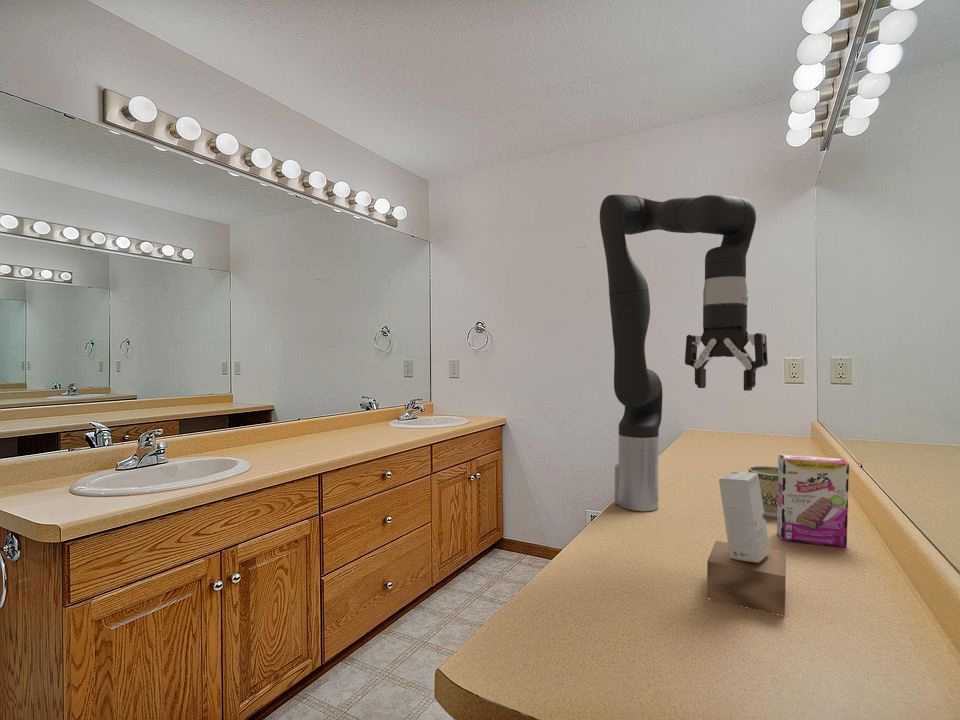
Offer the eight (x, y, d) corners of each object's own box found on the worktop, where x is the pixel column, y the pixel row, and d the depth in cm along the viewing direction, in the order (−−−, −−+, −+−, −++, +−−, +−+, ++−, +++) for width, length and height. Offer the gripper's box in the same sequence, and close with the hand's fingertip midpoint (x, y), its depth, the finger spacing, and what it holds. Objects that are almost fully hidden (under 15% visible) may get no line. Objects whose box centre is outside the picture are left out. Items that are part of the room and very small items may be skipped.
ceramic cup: (750, 517, 115) (750, 472, 115) (745, 505, 125) (746, 464, 124) (818, 524, 110) (818, 478, 110) (808, 511, 120) (808, 468, 120)
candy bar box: (781, 541, 100) (782, 458, 100) (776, 533, 105) (776, 453, 105) (849, 549, 96) (850, 462, 96) (840, 539, 101) (841, 457, 101)
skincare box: (760, 563, 74) (749, 480, 75) (727, 559, 77) (717, 478, 78) (771, 550, 79) (760, 472, 79) (740, 546, 82) (730, 470, 82)
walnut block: (707, 601, 77) (707, 561, 76) (715, 576, 85) (715, 540, 85) (784, 619, 71) (785, 576, 71) (785, 590, 80) (785, 552, 80)
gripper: (678, 304, 99) (678, 388, 99) (757, 298, 88) (757, 392, 89) (696, 307, 104) (696, 386, 104) (773, 301, 93) (772, 390, 94)
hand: (724, 389), depth 96 cm, fingers open, 8 cm apart
